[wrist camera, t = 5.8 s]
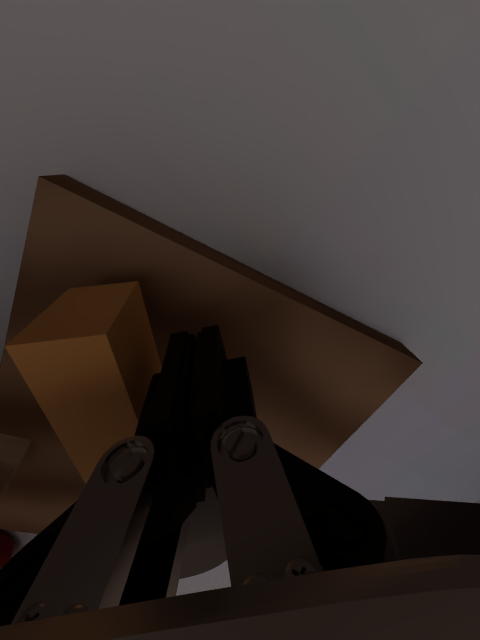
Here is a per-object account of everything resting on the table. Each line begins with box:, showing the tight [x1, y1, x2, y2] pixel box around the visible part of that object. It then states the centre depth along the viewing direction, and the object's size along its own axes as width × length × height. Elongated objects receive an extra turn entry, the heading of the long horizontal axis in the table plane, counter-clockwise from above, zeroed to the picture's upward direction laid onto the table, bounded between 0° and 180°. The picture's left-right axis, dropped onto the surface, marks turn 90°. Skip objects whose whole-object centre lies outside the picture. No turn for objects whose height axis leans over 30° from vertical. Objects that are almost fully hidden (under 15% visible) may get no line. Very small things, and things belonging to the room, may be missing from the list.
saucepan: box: [5, 281, 227, 579], centre depth 12 cm, size 16×7×4 cm, turn 5°
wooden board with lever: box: [0, 175, 422, 534], centre depth 17 cm, size 24×21×5 cm
